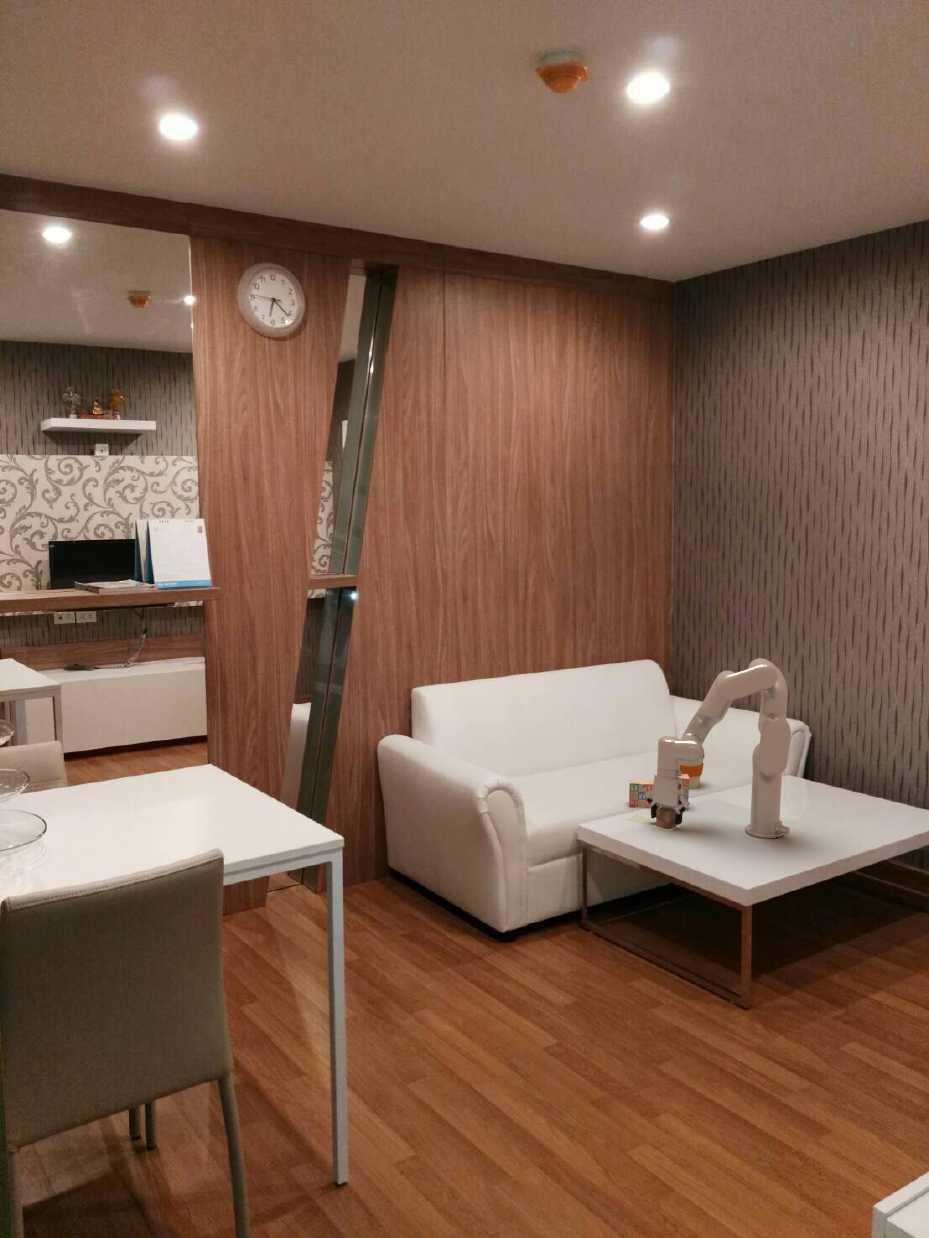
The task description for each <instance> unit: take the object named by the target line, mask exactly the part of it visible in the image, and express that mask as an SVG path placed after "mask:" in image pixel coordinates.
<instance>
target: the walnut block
mask: <svg viewBox="0 0 929 1238" xmlns="http://www.w3.org/2000/svg"><path fill="white" fill-rule="evenodd" d="M676 813H677V812H676V810H675V809H673V808H669V807H665V806H664V807H662V808H658V809H657V813H656V820H655V825H656V826H657V827H661V828H665V829H668V830H669V829H671V828H673V827H676V825H675V814H676Z"/></svg>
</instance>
